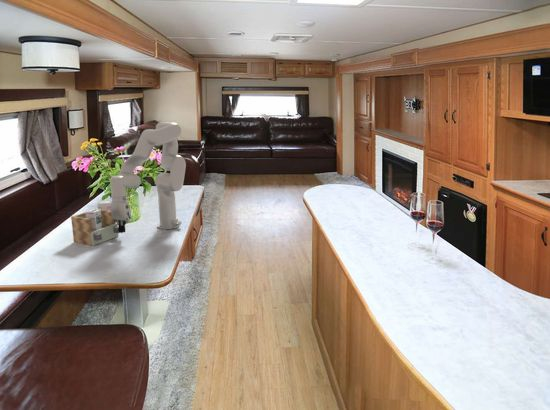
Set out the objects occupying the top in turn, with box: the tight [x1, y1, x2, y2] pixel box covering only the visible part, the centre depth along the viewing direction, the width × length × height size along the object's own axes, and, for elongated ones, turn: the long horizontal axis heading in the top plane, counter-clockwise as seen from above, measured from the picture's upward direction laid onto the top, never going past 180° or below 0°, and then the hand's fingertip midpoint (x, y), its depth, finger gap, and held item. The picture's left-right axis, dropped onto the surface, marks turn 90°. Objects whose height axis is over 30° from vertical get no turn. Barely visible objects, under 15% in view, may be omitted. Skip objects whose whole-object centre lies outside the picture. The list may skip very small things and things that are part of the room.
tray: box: [91, 223, 120, 246], centre depth 270 cm, size 16×18×7 cm
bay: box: [70, 209, 117, 246], centre depth 271 cm, size 13×18×14 cm
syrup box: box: [84, 208, 103, 232], centre depth 267 cm, size 6×6×14 cm
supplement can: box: [97, 200, 112, 211], centre depth 293 cm, size 8×8×15 cm
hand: (122, 232), depth 272 cm, fingers closed
